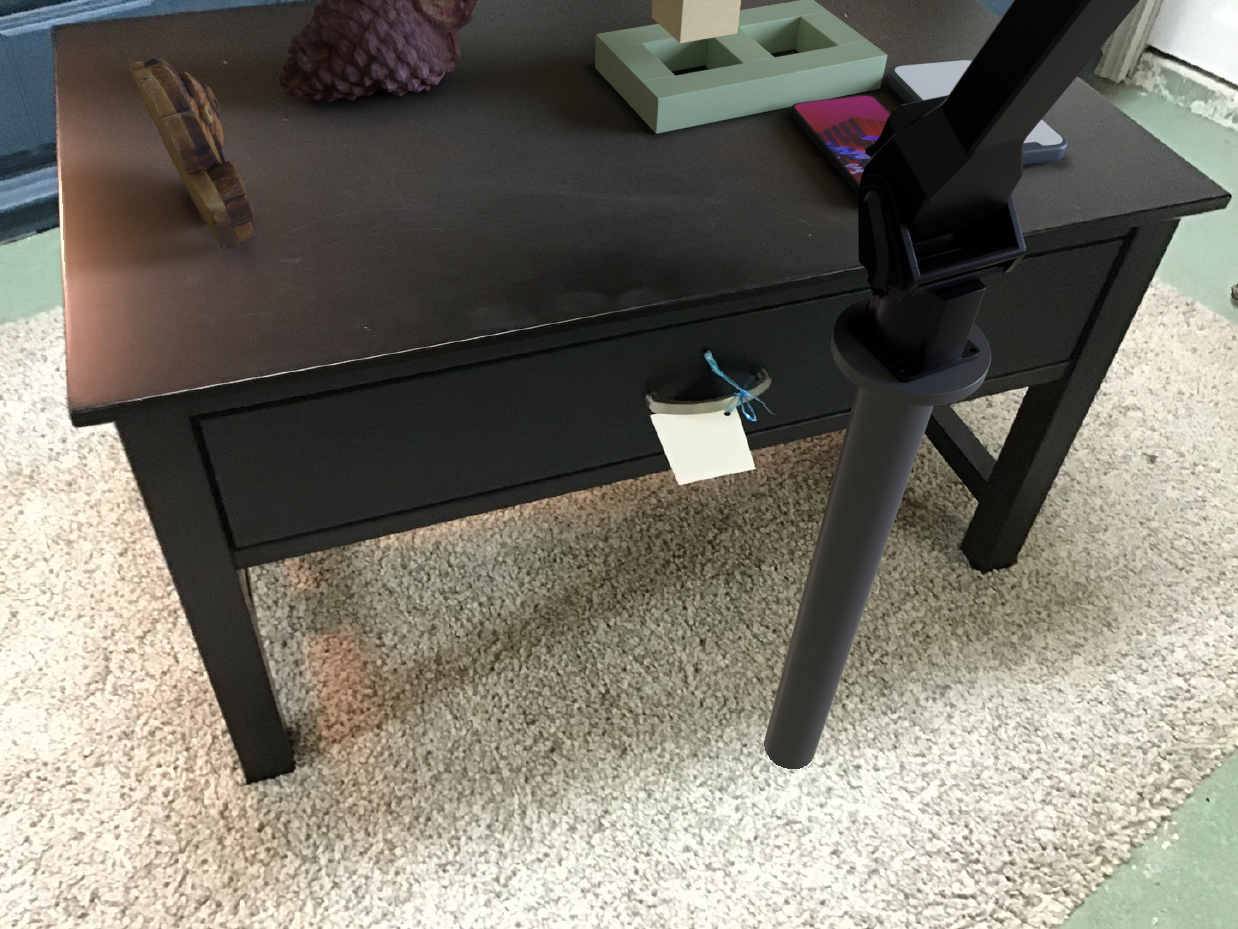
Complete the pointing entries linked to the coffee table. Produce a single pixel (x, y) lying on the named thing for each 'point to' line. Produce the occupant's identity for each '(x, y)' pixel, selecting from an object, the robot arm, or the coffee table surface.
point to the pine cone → (374, 47)
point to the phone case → (941, 80)
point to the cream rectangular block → (697, 18)
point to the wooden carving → (197, 148)
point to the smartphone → (843, 130)
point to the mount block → (739, 66)
